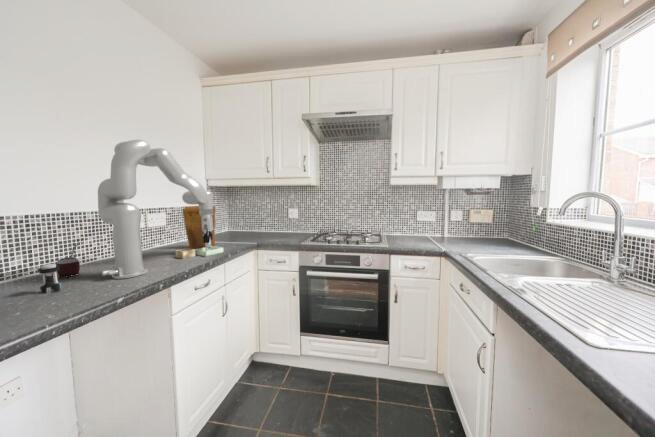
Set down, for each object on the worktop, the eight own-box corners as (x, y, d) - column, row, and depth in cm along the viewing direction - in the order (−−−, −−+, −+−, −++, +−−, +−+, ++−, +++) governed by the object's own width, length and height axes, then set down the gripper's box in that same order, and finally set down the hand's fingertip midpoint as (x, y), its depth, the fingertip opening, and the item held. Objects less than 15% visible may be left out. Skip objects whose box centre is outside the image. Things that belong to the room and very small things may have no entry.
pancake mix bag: (217, 247, 168) (214, 205, 165) (184, 250, 161) (181, 206, 159) (218, 245, 174) (215, 205, 171) (187, 248, 168) (184, 206, 165)
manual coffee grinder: (57, 277, 111) (53, 243, 109) (82, 272, 117) (78, 240, 115) (58, 280, 106) (54, 245, 105) (84, 275, 112) (80, 242, 111)
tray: (206, 256, 143) (206, 251, 143) (193, 254, 148) (193, 249, 148) (223, 252, 153) (223, 247, 153) (211, 250, 159) (210, 246, 158)
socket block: (183, 258, 139) (183, 251, 138) (176, 257, 142) (175, 250, 142) (195, 256, 145) (195, 249, 144) (188, 254, 148) (187, 248, 148)
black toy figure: (31, 295, 89) (28, 268, 89) (42, 290, 94) (38, 264, 93) (56, 292, 92) (53, 265, 91) (65, 287, 97) (62, 262, 96)
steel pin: (208, 253, 148) (207, 237, 148) (204, 252, 150) (203, 237, 149) (212, 252, 151) (211, 236, 150) (209, 251, 153) (208, 236, 152)
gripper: (210, 213, 141) (212, 243, 143) (215, 211, 158) (216, 238, 159) (196, 213, 139) (198, 244, 141) (202, 211, 156) (203, 239, 157)
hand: (208, 241), depth 150 cm, fingers open, 9 cm apart
